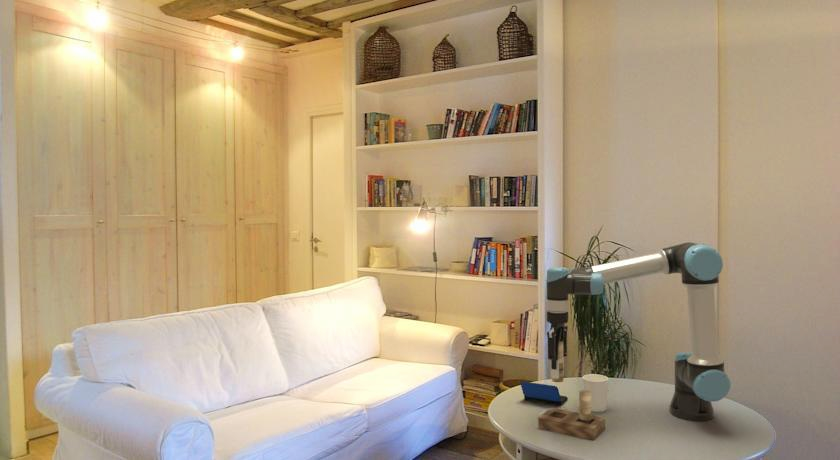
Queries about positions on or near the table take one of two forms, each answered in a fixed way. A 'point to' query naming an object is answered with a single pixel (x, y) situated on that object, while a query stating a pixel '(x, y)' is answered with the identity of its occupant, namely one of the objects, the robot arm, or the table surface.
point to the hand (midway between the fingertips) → (557, 376)
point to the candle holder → (597, 391)
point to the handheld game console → (542, 393)
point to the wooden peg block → (574, 420)
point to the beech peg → (560, 363)
